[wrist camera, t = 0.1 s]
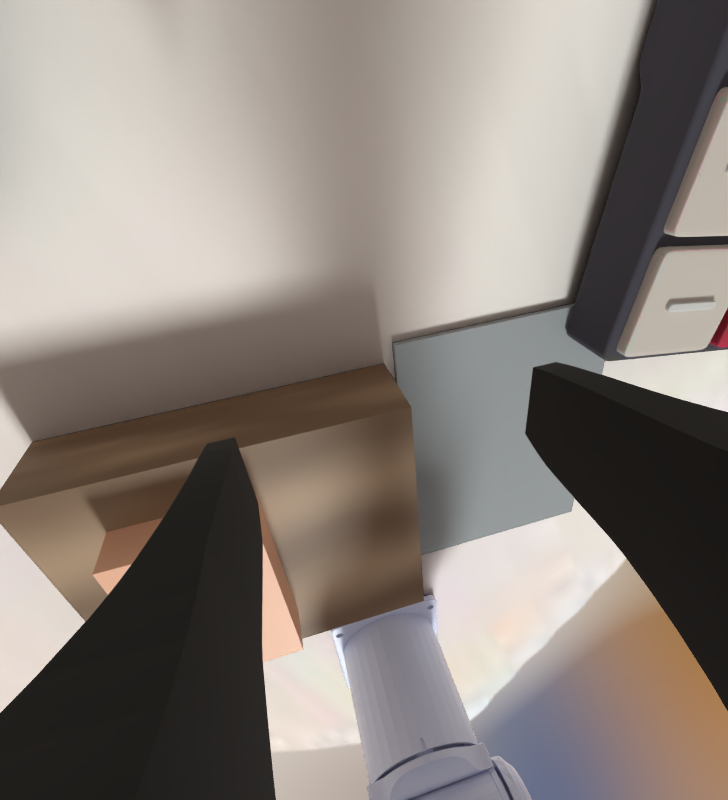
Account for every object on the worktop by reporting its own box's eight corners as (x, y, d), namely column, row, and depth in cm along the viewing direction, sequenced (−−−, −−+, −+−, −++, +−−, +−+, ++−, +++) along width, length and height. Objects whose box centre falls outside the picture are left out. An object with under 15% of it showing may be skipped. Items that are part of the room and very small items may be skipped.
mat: (568, 508, 31) (571, 511, 31) (410, 554, 29) (412, 557, 29) (614, 294, 22) (619, 296, 22) (392, 343, 20) (394, 345, 20)
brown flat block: (402, 546, 29) (424, 601, 25) (155, 618, 26) (143, 687, 23) (384, 363, 21) (411, 406, 18) (31, 442, 19) (-13, 508, 15)
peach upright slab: (298, 612, 23) (303, 649, 21) (184, 646, 22) (179, 688, 20) (256, 493, 18) (258, 530, 16) (106, 532, 17) (92, 574, 16)
